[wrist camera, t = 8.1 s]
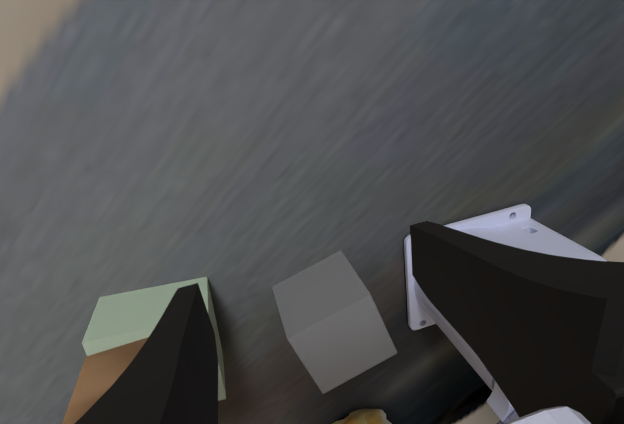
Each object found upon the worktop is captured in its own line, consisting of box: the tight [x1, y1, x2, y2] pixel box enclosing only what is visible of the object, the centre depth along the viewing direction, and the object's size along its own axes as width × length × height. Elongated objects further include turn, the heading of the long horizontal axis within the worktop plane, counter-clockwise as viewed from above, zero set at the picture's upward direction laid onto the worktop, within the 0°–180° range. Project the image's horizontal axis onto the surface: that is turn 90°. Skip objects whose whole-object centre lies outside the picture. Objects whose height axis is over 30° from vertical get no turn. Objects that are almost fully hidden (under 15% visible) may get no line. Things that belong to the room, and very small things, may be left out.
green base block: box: [82, 277, 226, 401], centre depth 23 cm, size 6×6×4 cm
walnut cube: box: [62, 337, 149, 424], centre depth 19 cm, size 5×5×5 cm
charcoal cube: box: [272, 250, 397, 394], centre depth 24 cm, size 5×5×5 cm
